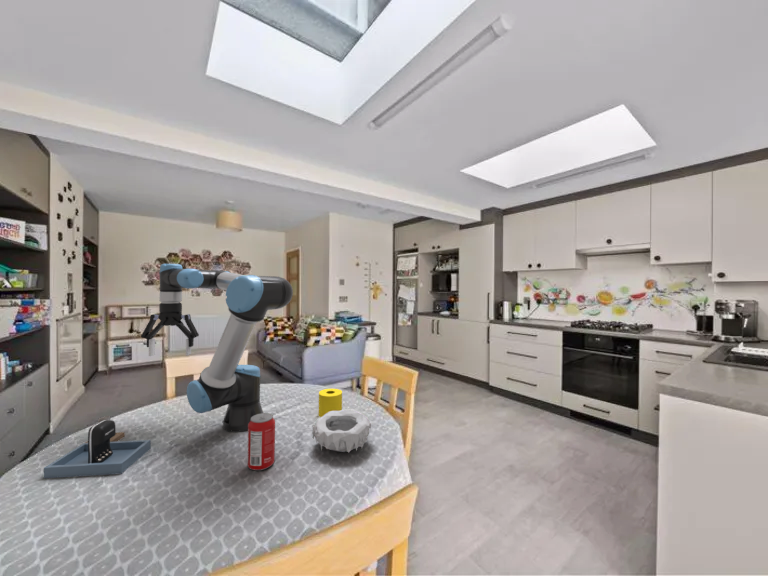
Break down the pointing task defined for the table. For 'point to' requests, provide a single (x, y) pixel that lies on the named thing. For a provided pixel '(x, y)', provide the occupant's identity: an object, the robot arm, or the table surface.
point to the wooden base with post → (118, 435)
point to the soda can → (261, 441)
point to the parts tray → (115, 464)
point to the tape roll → (329, 401)
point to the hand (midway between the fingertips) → (170, 355)
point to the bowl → (342, 430)
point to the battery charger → (100, 441)
